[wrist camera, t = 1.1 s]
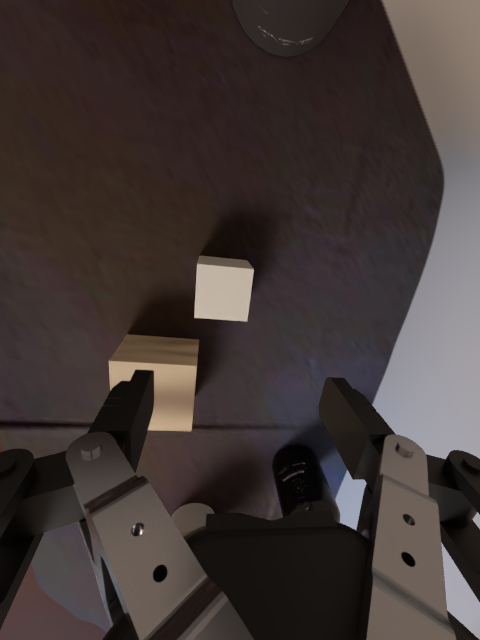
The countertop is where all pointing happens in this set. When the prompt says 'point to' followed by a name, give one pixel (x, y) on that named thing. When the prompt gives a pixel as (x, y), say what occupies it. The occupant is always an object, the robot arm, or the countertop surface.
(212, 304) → the cream cube
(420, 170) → the countertop surface
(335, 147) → the countertop surface
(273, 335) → the countertop surface
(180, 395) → the oak block
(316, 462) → the supplement bottle
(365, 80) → the countertop surface
